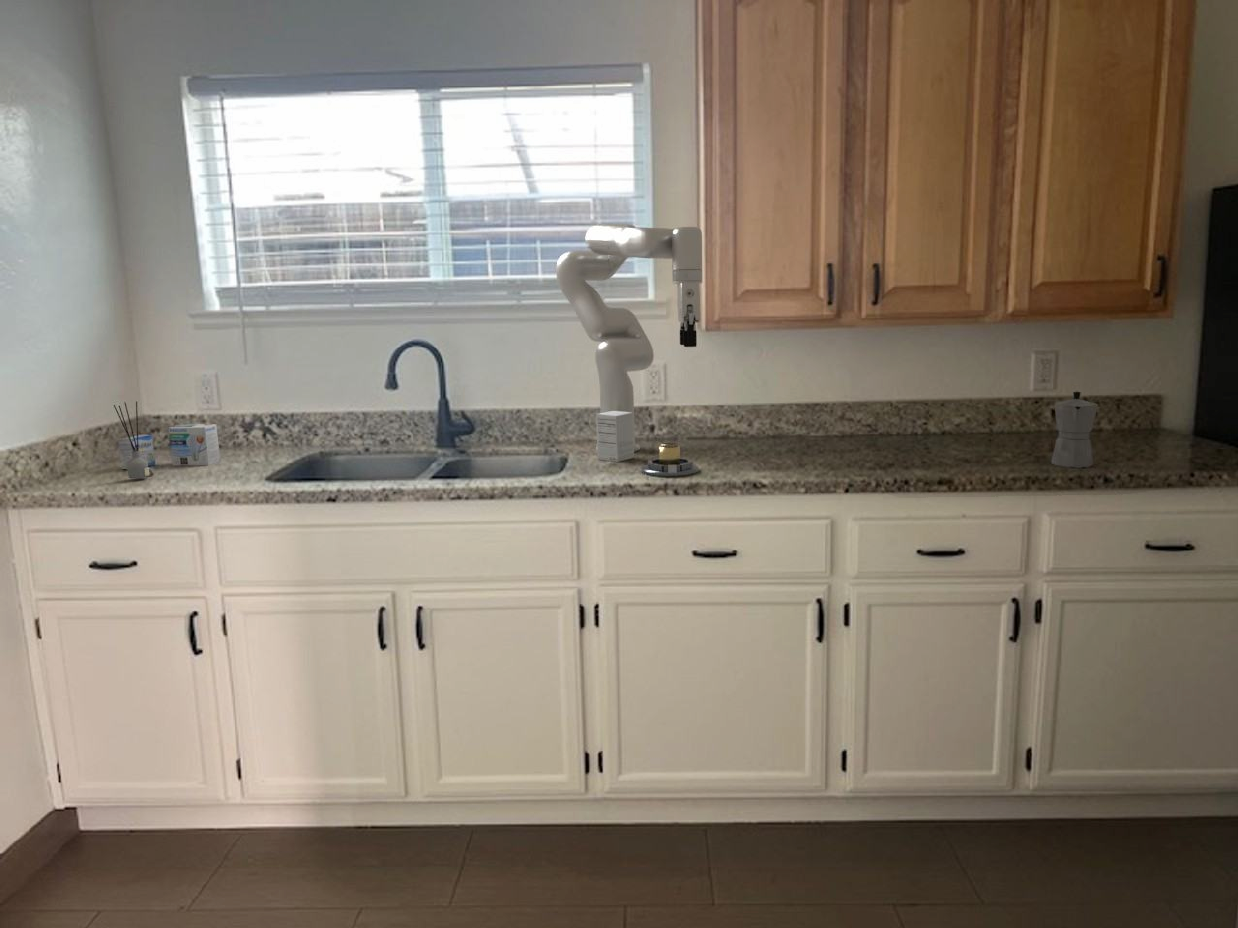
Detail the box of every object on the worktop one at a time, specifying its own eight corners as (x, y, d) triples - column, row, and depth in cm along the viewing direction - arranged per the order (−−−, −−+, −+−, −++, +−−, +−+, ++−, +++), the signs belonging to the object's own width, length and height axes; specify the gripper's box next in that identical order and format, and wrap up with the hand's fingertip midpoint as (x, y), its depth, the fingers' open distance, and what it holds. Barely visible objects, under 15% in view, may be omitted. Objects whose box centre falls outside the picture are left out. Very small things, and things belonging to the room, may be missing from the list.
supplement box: (614, 455, 244) (612, 410, 241) (635, 458, 239) (634, 412, 237) (596, 459, 238) (595, 413, 236) (617, 462, 233) (616, 415, 231)
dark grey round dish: (640, 467, 226) (640, 456, 225) (694, 465, 226) (694, 455, 226) (643, 478, 212) (643, 466, 212) (701, 476, 213) (701, 465, 212)
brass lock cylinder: (679, 465, 222) (678, 440, 221) (680, 469, 217) (680, 443, 215) (658, 466, 222) (658, 440, 220) (659, 469, 217) (659, 444, 215)
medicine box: (135, 470, 238) (131, 438, 236) (121, 470, 239) (117, 438, 237) (156, 465, 246) (152, 434, 244) (141, 465, 247) (138, 434, 245)
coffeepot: (1095, 470, 209) (1101, 394, 206) (1051, 468, 213) (1056, 394, 209) (1090, 459, 223) (1095, 388, 220) (1048, 457, 227) (1053, 387, 223)
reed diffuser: (139, 482, 221) (129, 403, 217) (112, 483, 221) (101, 404, 217) (160, 474, 231) (151, 398, 227) (134, 475, 231) (124, 399, 227)
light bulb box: (171, 466, 244) (167, 427, 242) (184, 461, 250) (180, 424, 248) (209, 465, 243) (205, 426, 241) (221, 461, 250) (217, 423, 248)
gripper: (706, 276, 214) (706, 347, 217) (698, 278, 231) (698, 344, 234) (675, 277, 214) (676, 348, 217) (669, 278, 231) (670, 344, 234)
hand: (688, 346), depth 226 cm, fingers open, 9 cm apart
